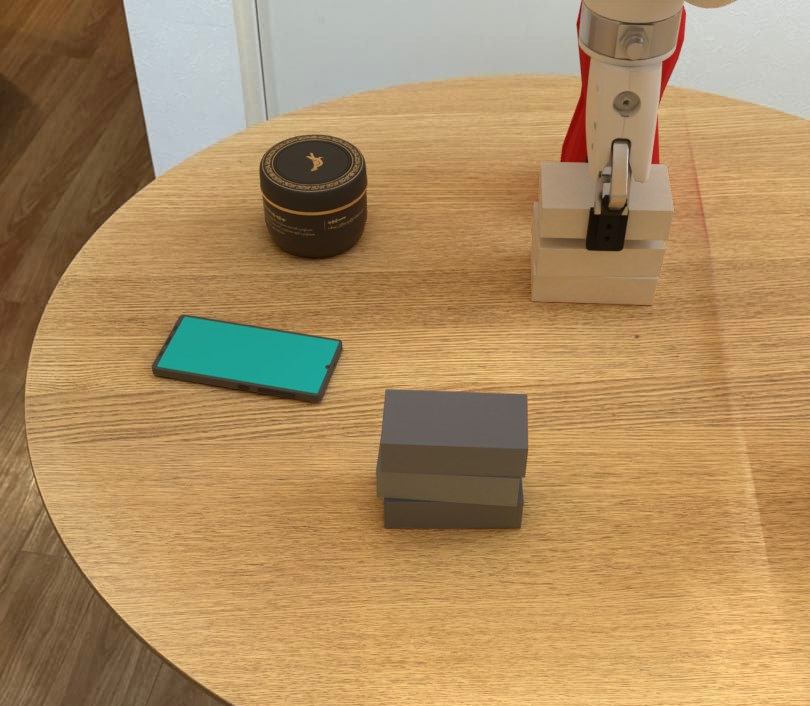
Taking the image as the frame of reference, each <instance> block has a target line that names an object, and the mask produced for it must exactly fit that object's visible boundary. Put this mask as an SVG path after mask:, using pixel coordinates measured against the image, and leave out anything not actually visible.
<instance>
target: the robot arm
mask: <svg viewBox="0 0 810 706" xmlns="http://www.w3.org/2000/svg"><path fill="white" fill-rule="evenodd" d="M737 1H738V0H583V1H582V11H581V20H580V29H579V39H578V38H577V43H578V42H579V45H580V47H581V49H582V50H583V51H584V52H585V53H586V54H587V55H589V56H590V57H591V61H590V70H589V79H588V89H587V101H586V141H587V154H588V155H586V161H585V163H588V165H589V174H590V177H591V178H592V179H593V180H594V181H596V187H595V200H594V207H590V213H589V221H588V229H587V236H586V249H587V250H588V251H621V250H623V247H624V241H625V235H626V229H627V222H628V216H629V197H630V186H631V174H632V173H633V177H634V180H635V182H641V183H645V182H646V181H647V180H648V179H649V175H650V168H651V160H652V152H653V145H654V137H655V130H656V122H657V115H658V116H659V108H658V106H659V107H660V104H659V97H660V87H661V74H662V61H664V60H666V59H667V58H669V57H670V56H671V55H672V54H673V53H674V51H675V49H676V44H677V38H678V33H679V27H680V21H681V16H682V10H683V5H684V4H685V3H687V4H689V5H692V6H694V7H697V8H701V9H718V8H722V7H727V6H729V5H731V4H733V3H735V2H737ZM684 6H685V5H684ZM605 167H611V174H602V173H603V170H604V168H605ZM604 183H610V190H609V195H605V196H604V197H603V198H602V196H603V184H604Z"/></svg>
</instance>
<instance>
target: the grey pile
mask: <svg viewBox="0 0 810 706" xmlns="http://www.w3.org/2000/svg"><path fill="white" fill-rule="evenodd" d="M528 398H529V397H528V394H527V393H509V392H507V393H505V392H480V391H478V392H477V391H454V390H453V391H450V390H423V389H419V390H418V389H398V388H397V389H395V388H394V389H393V388H385V390H384V399H383V400H384V401H383V411H382V412H383V413H382V422H381V430H380V431H381V432H380V440H379V447H378V453H377V461H376V466H375V467H376V468H375V482H376V483H375V486H376V498H379V499H383V525H384V526H383V528H384V529H521V528H522V523H523V513H524V503H525V499H524V490H523V489H524V488H523V479H524V478H526V473H527V466H528V456H529V404H528V403H529V400H528Z"/></svg>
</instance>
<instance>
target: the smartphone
mask: <svg viewBox="0 0 810 706" xmlns="http://www.w3.org/2000/svg"><path fill="white" fill-rule="evenodd" d="M343 349H344V347H343V341H342V339H339V338H333V337H326V336H320V335H315V334H307V333H303V332H302V333H301V332H295V331H289V330H283V329H277V328H271V327H266V326H265V327H264V326H258V325H252V324H246V323H239V322H233V321H227V320H220V319H216V318H209V317H202V316H197V315H191V314H181V315H179V316H178V317H177V319H176V321H175V323H174V324H173V327H172V329H171V330H170V332H169V334H168V336H167V337H166V339H165V341H164V343H163V345H162V346H161V348H160V350H159V351H158V354H157V355H156V357H155V359H154V360H153V363H152V364H151V370H152V374H153V375H154V376H159V377H165V378H170V379H175V380H181V381H187V382H193V383H199V384H204V385H205V384H206V385H211V386H216V387H222V388H229V389H235V390H240V391H246V392H251V393H258V394H264V395H268V396H269V395H270V396H275V397H281V398H287V399H294V400H299V401H304V402H310V403H317V404H318V403H321V402H322V400H323V397H324V396H325V393H326V390H327V389H328V385H329V383H330V382H331V379H332V377H333V374H334V371H335V369H336V367H337V364H338V362H339V359H340V357H341V354H342V352H343Z"/></svg>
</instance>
